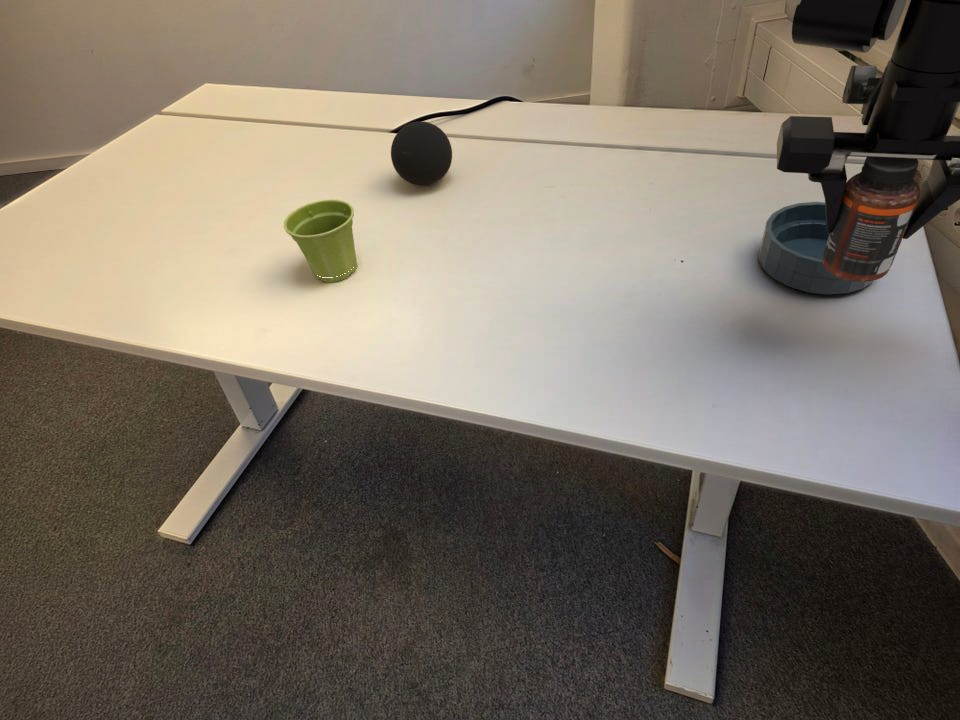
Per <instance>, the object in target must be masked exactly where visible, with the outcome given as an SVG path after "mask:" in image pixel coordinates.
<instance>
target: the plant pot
mask: <svg viewBox="0 0 960 720" xmlns="http://www.w3.org/2000/svg"><path fill="white" fill-rule="evenodd" d="M354 216H355V210H354V207H353V206H352V204H351V203H349V202H347V201H345V200H341V199H322V200H317V201H312V202H310V203H307V204H304V205H302V206H300V207H298V208H296V209H295V210H293V211H292V212H291V213H289V214H288V215H287V216H286V218H285V219H284V221H283V229H284V230H285V232H286V234H287V235H289V236H291V238H292V240H293V241H294V242H295V243H296V244H297V246H298V248H299V249H300V251H301V253H302V254H303V256H304V258H305V260H306V261H307V263H308V266H309V267H310V269H311V270H312V273H313V274H314V273H315V274H316V275H315V274H314V276H315V278H316V279H317V280H322V281H324V282H325V283H335V282H339V281H343V280H345V279H348V277H349V276H350V275H351V274H352V273H353V272H356V270H357V268H358V262H357V254H356V247H355V238H354V231H353V222H354V220H353V218H354ZM353 267H354V268H353ZM351 269H352V270H351ZM348 271H349V272H348ZM344 273H346V274H344ZM342 274H343V275H342ZM317 275H318V276H317ZM340 275H341V276H340ZM319 276H321V277H319ZM336 276H338V277H336ZM322 277H333V278H322Z"/></svg>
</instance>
